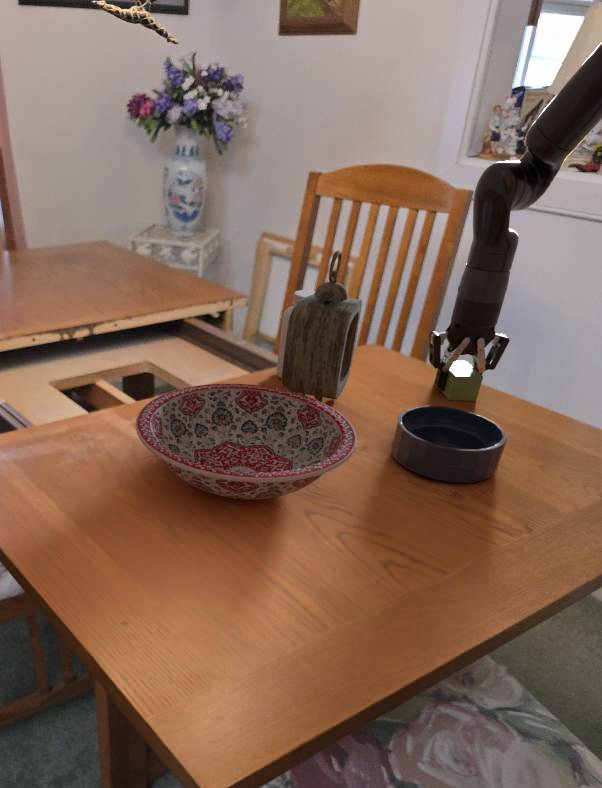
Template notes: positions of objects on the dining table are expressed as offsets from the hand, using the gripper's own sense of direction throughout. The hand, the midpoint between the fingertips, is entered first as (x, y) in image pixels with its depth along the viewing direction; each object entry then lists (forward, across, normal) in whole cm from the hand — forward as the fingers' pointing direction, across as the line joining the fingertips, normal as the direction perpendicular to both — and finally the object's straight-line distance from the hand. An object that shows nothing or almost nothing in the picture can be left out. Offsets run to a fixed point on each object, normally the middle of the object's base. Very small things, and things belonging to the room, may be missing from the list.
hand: (455, 389), depth 128 cm
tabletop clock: (+1, -28, -8) cm, 29 cm away
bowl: (0, -12, -27) cm, 30 cm away
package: (0, 0, 0) cm, 0 cm away
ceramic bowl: (+1, -43, -33) cm, 54 cm away
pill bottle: (+1, -28, +6) cm, 29 cm away
